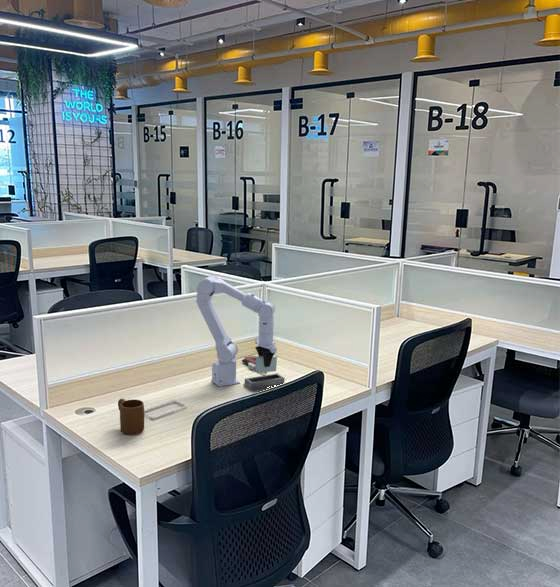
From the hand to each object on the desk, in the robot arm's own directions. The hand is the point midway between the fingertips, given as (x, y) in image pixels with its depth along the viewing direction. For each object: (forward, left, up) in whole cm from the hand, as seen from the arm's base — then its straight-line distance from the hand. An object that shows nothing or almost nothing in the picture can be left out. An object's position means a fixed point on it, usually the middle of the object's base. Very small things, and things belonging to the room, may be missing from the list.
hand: (265, 365), depth 224 cm
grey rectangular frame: (-44, -7, -9) cm, 46 cm away
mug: (-59, -16, -9) cm, 62 cm away
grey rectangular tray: (0, 0, -8) cm, 8 cm away
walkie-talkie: (+8, +20, -9) cm, 24 cm away
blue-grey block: (0, 0, -2) cm, 3 cm away
